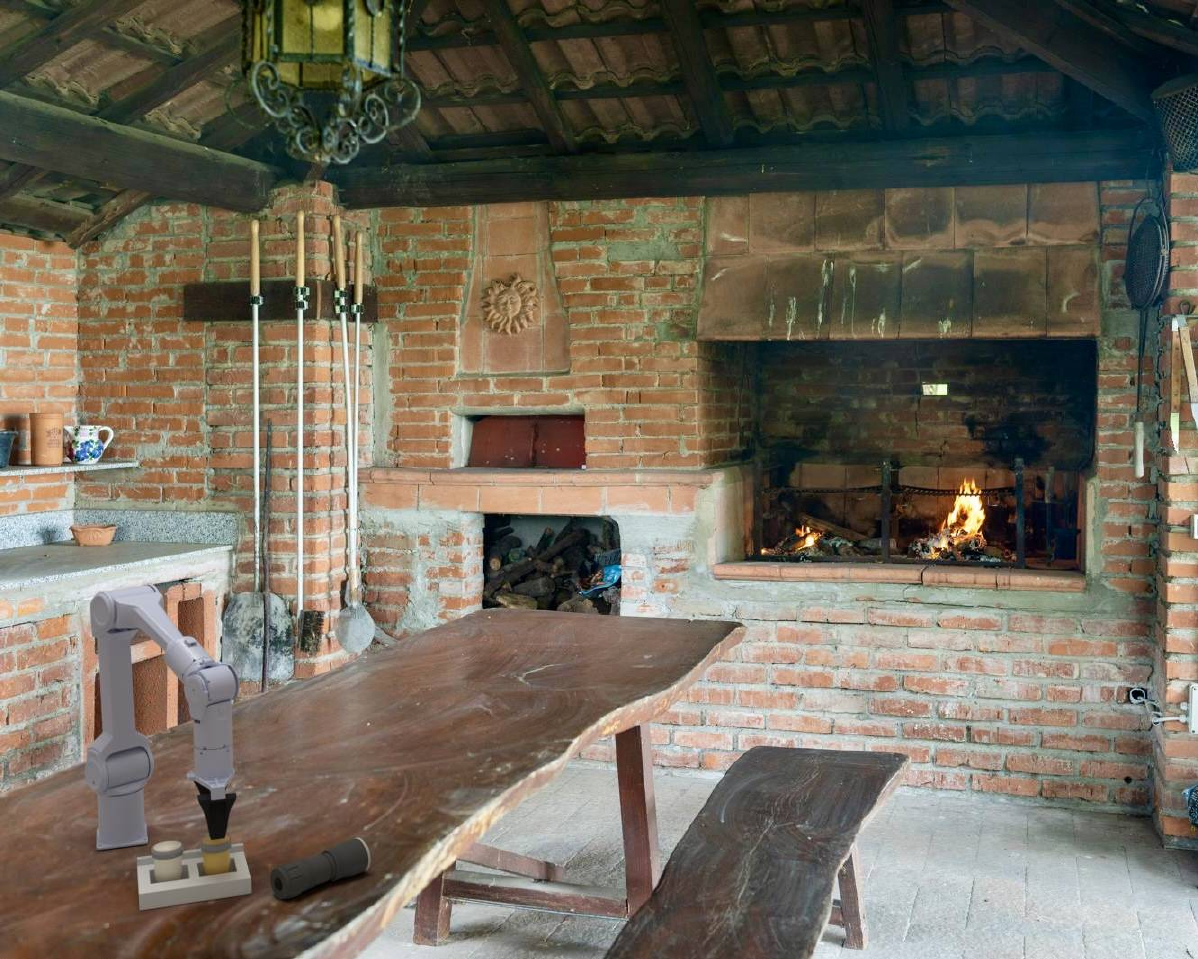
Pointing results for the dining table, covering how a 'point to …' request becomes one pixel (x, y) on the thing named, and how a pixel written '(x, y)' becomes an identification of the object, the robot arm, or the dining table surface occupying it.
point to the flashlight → (320, 868)
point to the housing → (192, 881)
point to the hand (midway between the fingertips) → (215, 829)
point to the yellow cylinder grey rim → (216, 855)
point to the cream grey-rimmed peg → (167, 861)
